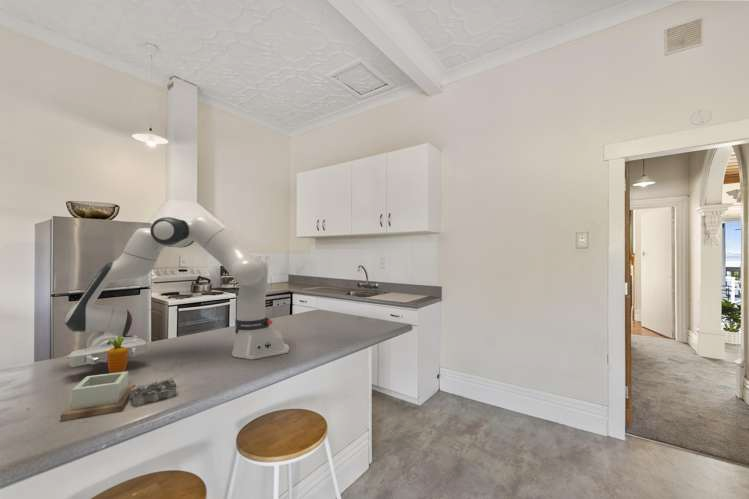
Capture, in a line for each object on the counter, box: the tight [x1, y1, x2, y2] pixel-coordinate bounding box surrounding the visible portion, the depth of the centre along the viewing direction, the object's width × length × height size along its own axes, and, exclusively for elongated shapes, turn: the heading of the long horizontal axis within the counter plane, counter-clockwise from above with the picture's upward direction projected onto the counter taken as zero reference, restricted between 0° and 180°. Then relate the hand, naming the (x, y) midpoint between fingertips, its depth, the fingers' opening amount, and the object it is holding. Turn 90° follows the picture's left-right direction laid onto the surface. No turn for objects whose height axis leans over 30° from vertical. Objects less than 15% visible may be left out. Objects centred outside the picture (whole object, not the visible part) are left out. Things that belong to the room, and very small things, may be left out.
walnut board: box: [60, 384, 136, 422], centre depth 86 cm, size 12×14×2 cm
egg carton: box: [130, 377, 178, 407], centre depth 90 cm, size 11×8×4 cm
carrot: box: [107, 335, 129, 374], centre depth 98 cm, size 5×5×15 cm
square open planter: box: [71, 370, 129, 410], centre depth 86 cm, size 9×9×5 cm
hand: (114, 357), depth 103 cm, fingers open, 8 cm apart
